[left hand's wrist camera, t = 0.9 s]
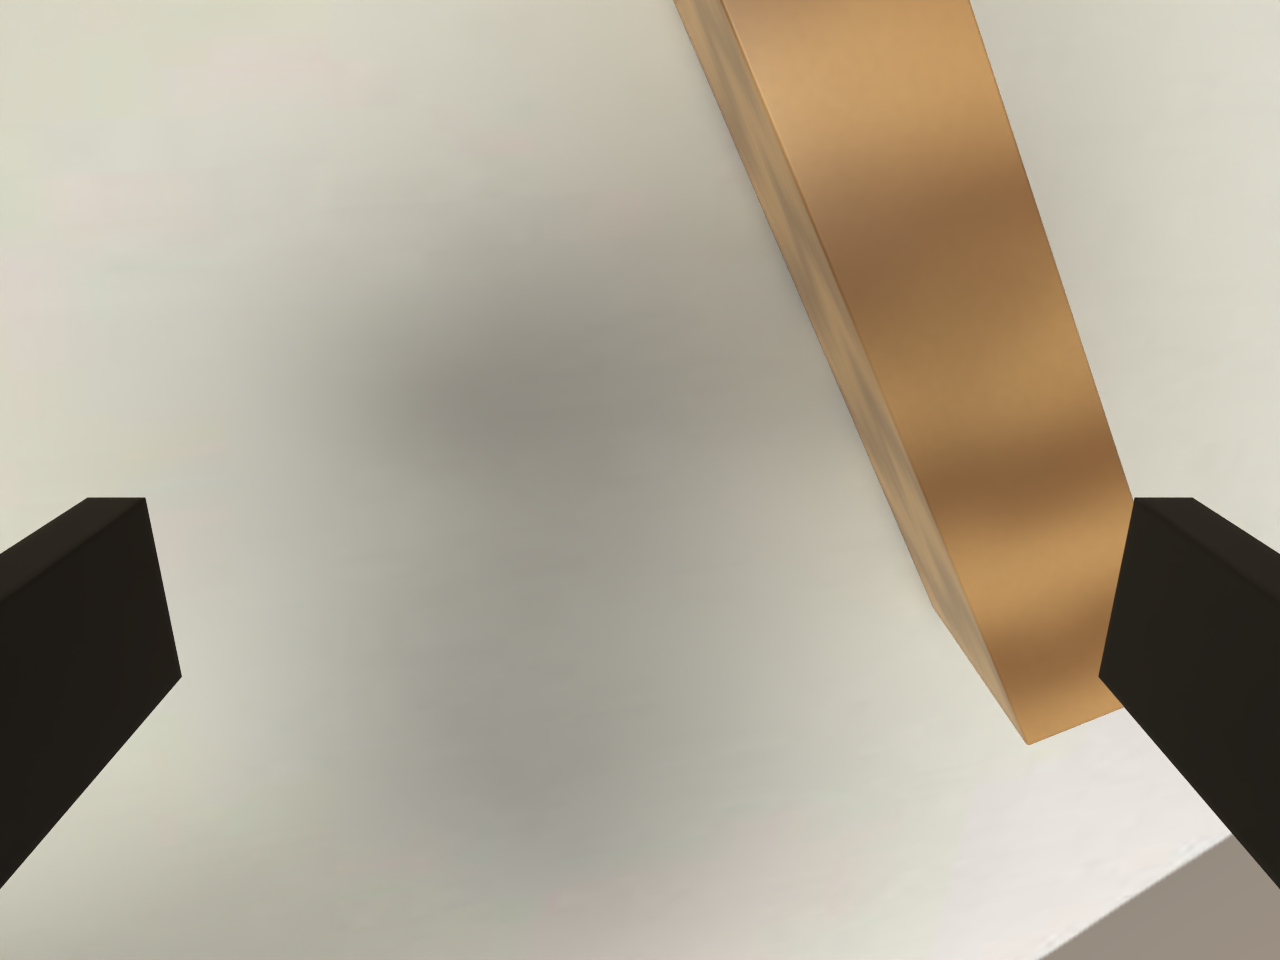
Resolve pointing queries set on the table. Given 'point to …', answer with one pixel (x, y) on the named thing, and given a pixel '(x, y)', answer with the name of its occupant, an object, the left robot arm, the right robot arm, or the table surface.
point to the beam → (938, 322)
